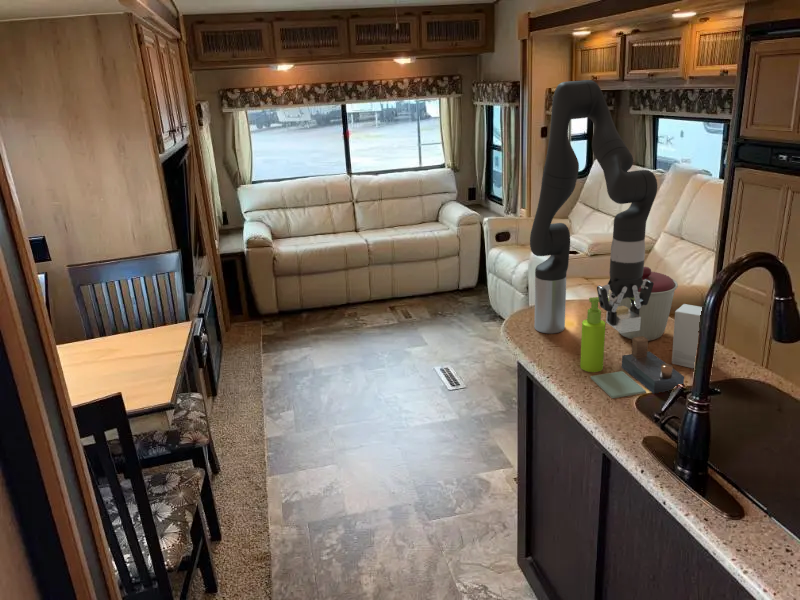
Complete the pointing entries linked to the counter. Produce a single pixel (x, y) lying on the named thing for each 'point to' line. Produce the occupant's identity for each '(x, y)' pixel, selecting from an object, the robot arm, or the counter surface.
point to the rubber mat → (617, 384)
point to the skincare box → (686, 335)
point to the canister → (653, 306)
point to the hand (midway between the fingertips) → (622, 322)
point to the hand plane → (650, 368)
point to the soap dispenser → (592, 339)
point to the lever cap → (626, 320)
